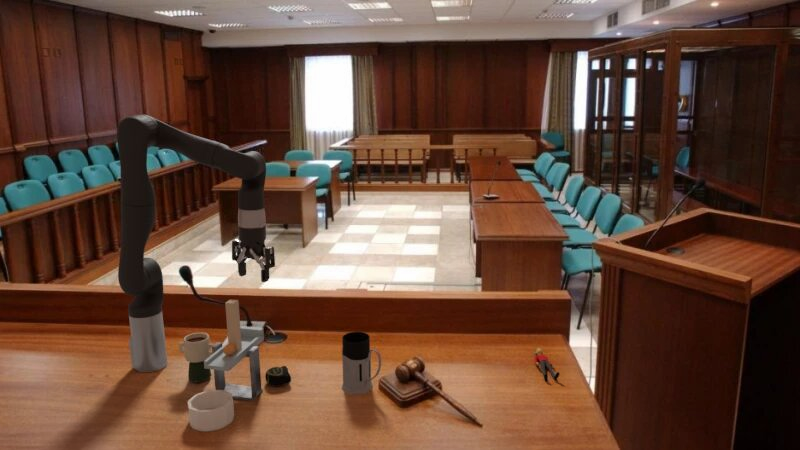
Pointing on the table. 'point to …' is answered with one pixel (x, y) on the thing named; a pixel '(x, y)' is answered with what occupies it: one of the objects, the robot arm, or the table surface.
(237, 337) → the tipping board
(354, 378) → the glass holder
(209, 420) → the cup
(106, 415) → the table surface
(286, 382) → the tape measure
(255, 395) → the stand
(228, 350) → the ball
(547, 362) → the person figure
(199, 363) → the character mug
